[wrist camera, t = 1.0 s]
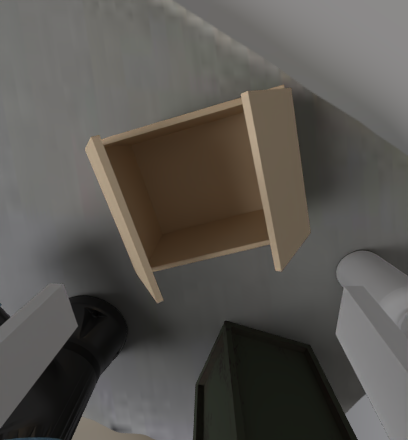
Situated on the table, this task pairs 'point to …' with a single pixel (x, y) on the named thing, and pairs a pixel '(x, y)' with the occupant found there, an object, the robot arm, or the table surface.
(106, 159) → the flap
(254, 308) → the table surface
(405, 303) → the pill bottle
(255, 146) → the flap
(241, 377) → the first aid box
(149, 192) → the carton
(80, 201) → the table surface
